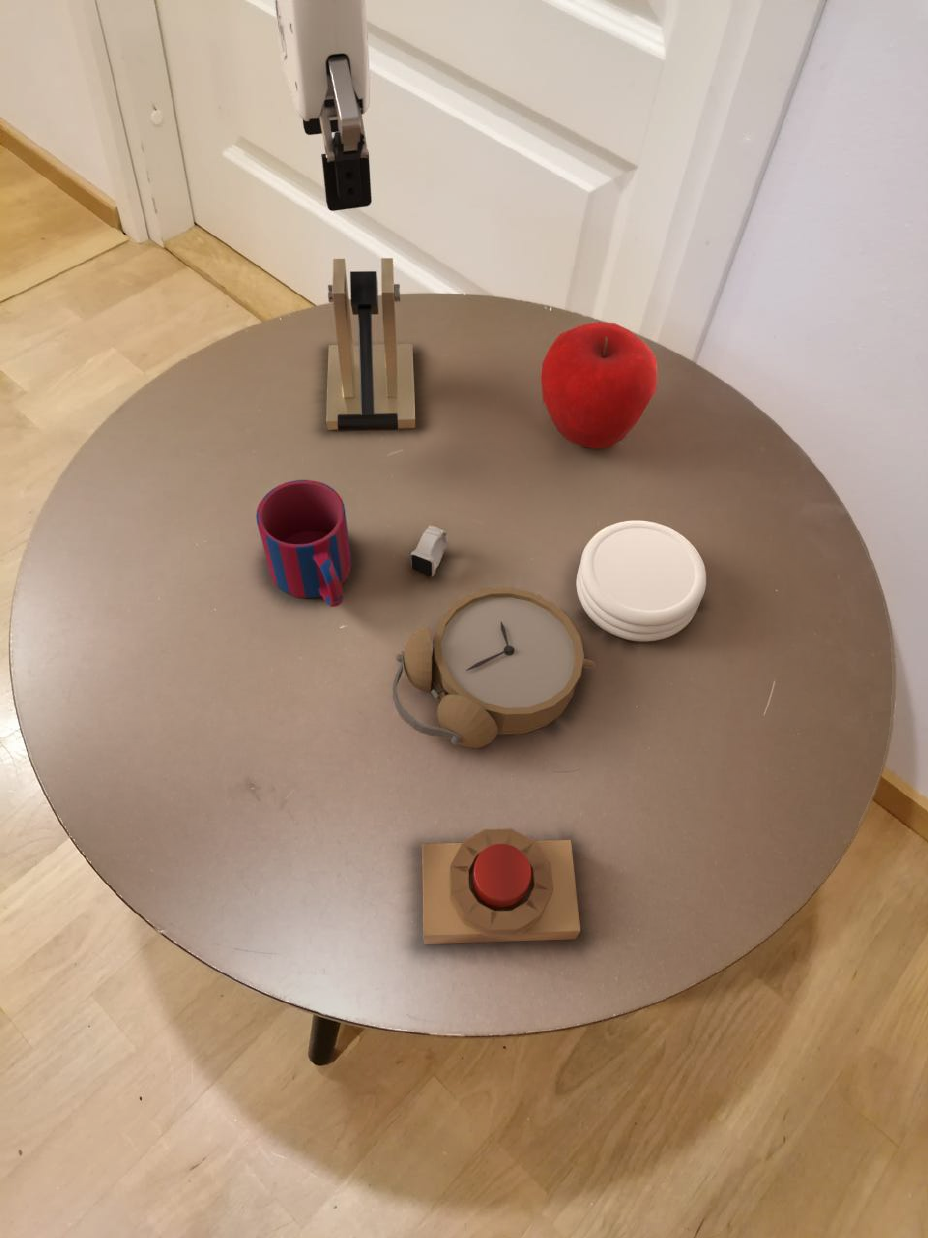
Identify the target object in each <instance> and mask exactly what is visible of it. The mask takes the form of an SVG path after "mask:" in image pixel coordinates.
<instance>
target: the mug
mask: <svg viewBox="0 0 928 1238" xmlns="http://www.w3.org/2000/svg"><path fill="white" fill-rule="evenodd" d="M255 517H256V524H257V528H258V532H259V536H260V540H261V544H262V548H263V553H264V557H265V559H266V563H267V567H268V571H269V576H270V578H271V580H272V581H273V583H274V585H275V586H276V587H277V588H278V589H279V590H281V591H282V592H284V593H286V594H288V595H290V596H293V597H295V598H300V599H314V598H321V597H322V599H323V601H324V602H325V603H326V604H327V606H329V607H331V608H334V607H339V606H340V605H342V604H343V601H344V592H343V586H342V585H343V584H344V583H345V582H346V580H347V579H348V577H349V574H350V573H351V568H352V556H351V555H352V554H351V547H350V540H349V530H348V523H347V515H346V508H345V503H344V501H343V498H342V497H341V495H340V494H339V493H338V492H337V491H336V490H335V489H334V488H332V487H331V486H329V485H328V484H325V483H324V482H320V481H317V480H312V479H296V480H291V481H286V482H284V483H281V484H279V485H277V486H275V487H274V488H272V489H270V490H269V491H268V492H267V493H266V494H265V495H264V496H263V498H261V501H260V502H259V504H258V507H257V510H256V516H255Z"/></svg>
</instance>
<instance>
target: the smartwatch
mask: <svg viewBox="0 0 928 1238" xmlns="http://www.w3.org/2000/svg"><path fill="white" fill-rule="evenodd" d="M448 540H449V538H448V533H447V531H446V530H444V529H441V528H439V527H437V526H434V525H427V528H426V529H425V530H424V532H423V533H422V536H421V537H420V540H419V542H418V544H417V546H416V548H415V549H414V550H412V551H411V553H410V568H411V570H412V571H414V572H417V573H419V574H422V575H424V576H427V577H431V578H432V577H434V576H435V573H436V570H437V568H438V566H439V565H440V563H441V561H442V558H443V554H444V552H445V549H446V548H447V547H448V543H449V542H448Z"/></svg>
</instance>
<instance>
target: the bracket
mask: <svg viewBox="0 0 928 1238" xmlns="http://www.w3.org/2000/svg"><path fill="white" fill-rule="evenodd" d="M380 269H381V270H380V278H381V279H380V283H381V285H380V287H381V309H382V310H381V311H382V326H383V327H382V329H383V330H382V331H383V343H374V344H373V376H374V411H375V413H398V430H399V429H416V408H415V405H416V403H415V381H414V379H415V378H414V356H413V355H414V353H413V352H414V351H413V350H414V349H413V344H412V343H397V328H396V327H397V325H396V323H397V322H396V303H397V302H398V303H399V302H401V284H400V283H395V275H394V274H395V272H394V258H393V257H381V258H380ZM327 300H328V303H333V314H334V324H335V332H336V342H337V344H329V345H328V349H327V350H328V353H327V383H326V384H327V385H326V411H325V412H326V414H325V416H326V417H325V422H326V429H327V431H336V430H337V431H338V423H337V416H338V414H361V396H360V361H359V344H354V343H353V334H352V333H353V332H352V321H351V320H352V319H351V311H350V310H351V309H350V308H351V307H350V297H349V288H348V276H347V264H346V258H333V259H332V284H328V285H327Z"/></svg>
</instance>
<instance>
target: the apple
mask: <svg viewBox="0 0 928 1238" xmlns="http://www.w3.org/2000/svg"><path fill="white" fill-rule="evenodd" d="M657 362H658V361H657V357H656V355H655V354H654V352H653V351H652V350H651V348H650V347H649V345H648V344H646V342H644V341H643V340H642V339H640V338H639V337H638V336H637V335H636V334H635V333H633V332H632V331H631V330H630V329H628V328H626V327H624V326H622V325H620V324H617V323H615V322H605V321H603V322H602V321H598V322H589V323H582V324H581V325H578V326H574V327H572V328H570V329H568V330H566V331H563V332H561V333H559V334H558V335H557V337H556V338H555V340H554V341H553V343H552V344H551V345H550V347H549V349H548V351H547V353H546V355H545V357H544V358H543V360H542V366H541V375H540V382H541V391H542V393H541V394H542V401H543V403H544V405H545V408H546V411H547V413H548V415H549V418H550V419H551V422H552V424H553V426H554V427H555V428H556V430H557V432H558V433H560V435H562V436H563V437H564V438H565V439H566V440H567V441H569V442H571V443H573V444H575V445H578V446H579V447H584V448H590V449H596V450H598V449H604V448H608V447H609V448H610V447H612V446H614V445H615V444H617V443H619V442H620V441H622V440H624V438H625V437H626V436H627V435H628V434H629V432H630V431H631V430H632V429H633V428H634V426H635V425H636V424H637V423H638V422H639V420H640V418H641V417H642V415H643V413H644V411H645V410H646V408H647V406H648V405H649V403H650V401H651V400H652V398H653V396H654V395H655V393H656V391H657V389H658V388H657V387H658V364H657Z"/></svg>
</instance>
